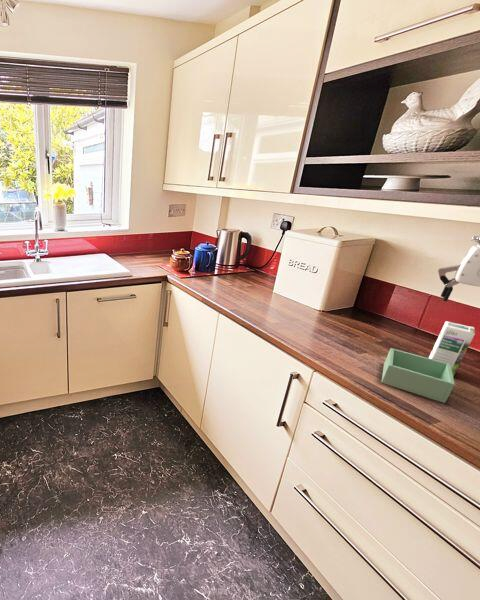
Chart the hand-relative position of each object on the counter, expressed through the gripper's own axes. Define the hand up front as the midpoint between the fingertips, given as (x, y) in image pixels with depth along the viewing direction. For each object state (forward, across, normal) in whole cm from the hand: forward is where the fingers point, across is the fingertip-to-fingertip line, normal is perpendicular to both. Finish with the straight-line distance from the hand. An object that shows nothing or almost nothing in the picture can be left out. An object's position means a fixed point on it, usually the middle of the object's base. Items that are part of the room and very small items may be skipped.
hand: (469, 304), depth 92 cm
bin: (+21, -5, -14) cm, 26 cm away
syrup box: (+21, +1, 0) cm, 21 cm away
